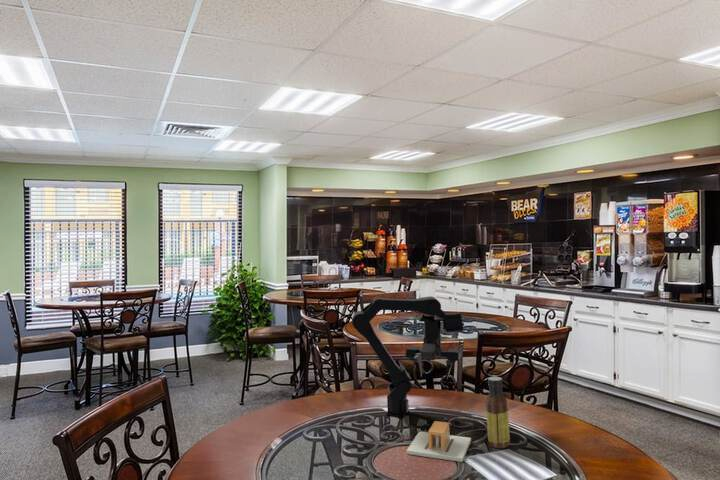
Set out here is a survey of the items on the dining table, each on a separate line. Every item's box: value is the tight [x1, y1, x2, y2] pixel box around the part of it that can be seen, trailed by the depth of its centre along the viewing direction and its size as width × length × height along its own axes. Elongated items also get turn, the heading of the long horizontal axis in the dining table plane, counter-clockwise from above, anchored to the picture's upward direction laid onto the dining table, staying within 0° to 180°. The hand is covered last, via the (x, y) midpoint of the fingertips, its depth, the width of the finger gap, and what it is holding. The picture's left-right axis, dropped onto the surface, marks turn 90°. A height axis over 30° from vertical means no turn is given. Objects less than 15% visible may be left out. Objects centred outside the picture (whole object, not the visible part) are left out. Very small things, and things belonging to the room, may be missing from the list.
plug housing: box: [427, 420, 450, 451], centre depth 149 cm, size 8×4×5 cm, turn 158°
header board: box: [406, 431, 472, 463], centre depth 149 cm, size 16×14×5 cm
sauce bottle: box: [485, 376, 511, 449], centre depth 150 cm, size 7×6×20 cm
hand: (433, 377), depth 177 cm, fingers open, 9 cm apart
